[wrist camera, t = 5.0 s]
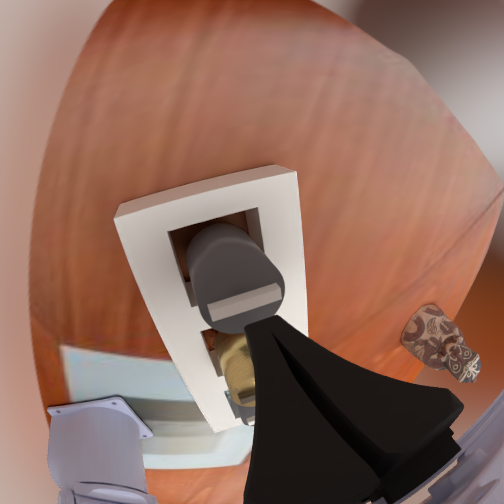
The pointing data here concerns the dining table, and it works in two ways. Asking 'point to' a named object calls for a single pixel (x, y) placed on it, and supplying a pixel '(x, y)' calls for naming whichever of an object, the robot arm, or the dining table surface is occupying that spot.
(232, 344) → the brass knob middle
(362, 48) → the dining table surface
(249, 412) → the black knob
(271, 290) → the black knob
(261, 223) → the control deck
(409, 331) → the figurine
